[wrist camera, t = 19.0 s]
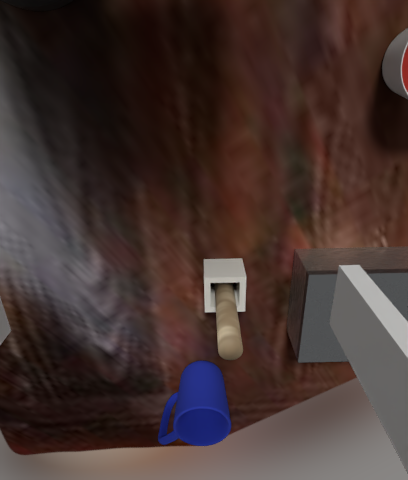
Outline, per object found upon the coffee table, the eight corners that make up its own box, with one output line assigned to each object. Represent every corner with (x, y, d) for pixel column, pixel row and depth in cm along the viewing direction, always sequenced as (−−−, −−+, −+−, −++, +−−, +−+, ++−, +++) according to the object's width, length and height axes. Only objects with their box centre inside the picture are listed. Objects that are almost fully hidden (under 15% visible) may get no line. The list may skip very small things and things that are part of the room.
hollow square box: (204, 291, 51) (204, 312, 46) (203, 259, 49) (204, 277, 44) (241, 290, 51) (245, 311, 46) (242, 258, 49) (246, 276, 44)
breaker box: (286, 329, 54) (297, 362, 48) (294, 249, 48) (308, 274, 42) (401, 326, 54) (428, 359, 48) (424, 246, 48) (458, 271, 42)
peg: (214, 284, 50) (218, 360, 37) (213, 268, 49) (218, 341, 36) (231, 284, 50) (242, 359, 37) (232, 268, 49) (243, 340, 36)
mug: (149, 380, 58) (140, 435, 49) (206, 346, 55) (207, 398, 46) (180, 407, 61) (176, 464, 52) (236, 376, 58) (242, 431, 49)
